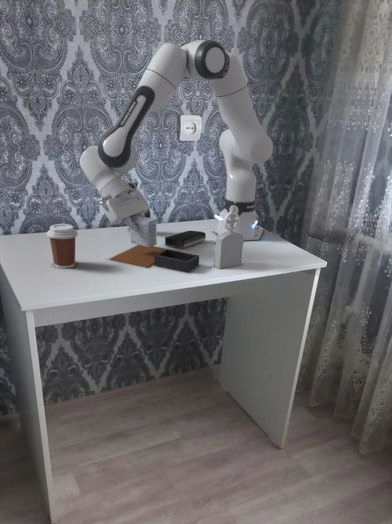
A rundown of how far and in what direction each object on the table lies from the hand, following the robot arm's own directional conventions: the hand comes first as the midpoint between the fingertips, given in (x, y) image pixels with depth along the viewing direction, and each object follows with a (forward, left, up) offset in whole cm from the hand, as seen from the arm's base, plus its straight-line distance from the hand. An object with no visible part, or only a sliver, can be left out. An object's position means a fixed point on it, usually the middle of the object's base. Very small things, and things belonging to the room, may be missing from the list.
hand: (141, 228), depth 163 cm
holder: (+3, +15, -9) cm, 18 cm away
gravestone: (-7, +29, -9) cm, 31 cm away
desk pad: (0, +1, -9) cm, 9 cm away
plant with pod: (-24, -14, -9) cm, 29 cm away
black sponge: (-20, +7, -9) cm, 23 cm away
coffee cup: (+22, -15, -9) cm, 28 cm away
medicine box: (0, +1, -5) cm, 6 cm away
